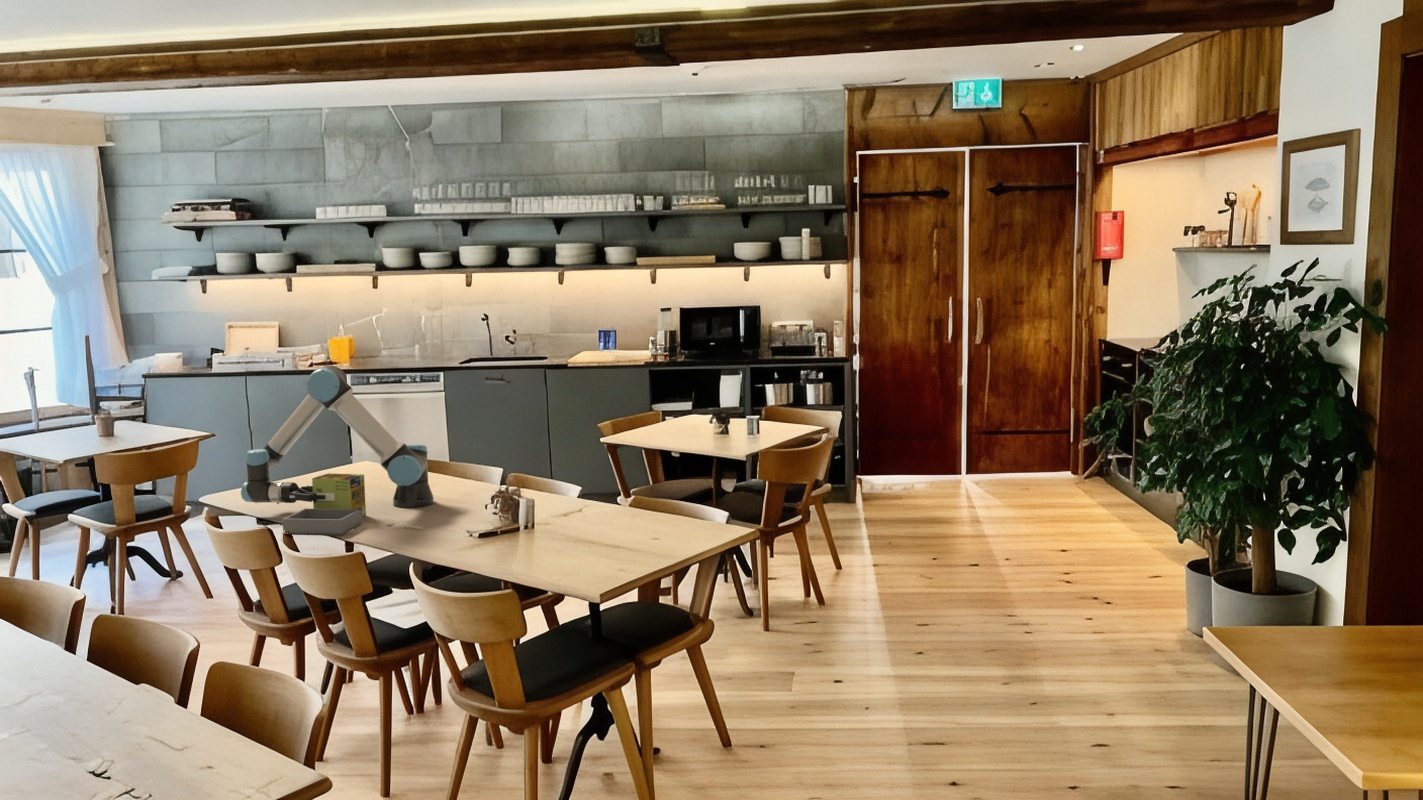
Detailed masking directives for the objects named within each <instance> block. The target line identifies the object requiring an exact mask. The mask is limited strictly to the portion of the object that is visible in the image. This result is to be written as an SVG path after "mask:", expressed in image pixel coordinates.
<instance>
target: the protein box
mask: <svg viewBox="0 0 1423 800" xmlns="http://www.w3.org/2000/svg"><path fill="white" fill-rule="evenodd" d="M311 481H312V483H311V484H312V485H311V486H313V493H315V494H316V495H317V493H335V501H317V499H316V503H313V502H312V504H313V508H312V509H352V510H361V518H363V517H365V516H367V507H366V491H365V490H366V489H365V488H366V487H365V486H366V485H365V474H364V473H363V474H361V473H360V474H355V473H331V472H330V473H325V474H321V475H318V476H316V477H313V478H312V479H311Z"/></svg>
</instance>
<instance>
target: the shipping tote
mask: <svg viewBox="0 0 1423 800" xmlns="http://www.w3.org/2000/svg"><path fill="white" fill-rule="evenodd" d="M281 521H282V532H283V531H284V530H288V531H289V532H290V533H291V534H292V535H291V536H321V537H323V536H326V537H327V536H331V537H333V536H334V537H343V536H345V535H346V534H348V533H350V532H351V531H350V530H352V529H353V530H355V529H356V527H357V528H359V527H361V526H362V521H363V520H362V517H361V510H352V509H313V508H303V509H300V510H298V511H296V512H294V513H292V514H290V515H287V516H286V517H284V518H282V520H281ZM358 526H359V527H358ZM353 530H352V531H353ZM349 531H350V532H349ZM347 532H348V533H347Z"/></svg>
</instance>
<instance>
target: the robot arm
mask: <svg viewBox="0 0 1423 800" xmlns="http://www.w3.org/2000/svg"><path fill="white" fill-rule="evenodd" d="M306 391H307V393H308V394H307V395H306V396H305V398H304V399H303V400H302V401H301V403H300V404H299V405H298V406H297V407H296V409H295V410H294V411H293V412H291V413H292V414H290V416H289V417H288V419H286V421H285V422H284V423H283V424H282V426H281V427H279V429H278V431H277V432H276V433H275V434H274V435H273V437H272V438H271V439H270V440H269V441H268V443H266V445H265V446H264V447H263V449H262V448H257V449H256V448H255V449H249V450H248V451H247V452H246V459H245V462H246V470H247V471H246V472H247V474H246V475H247V481H246V482H244V483H243V484H242V485H241V490H240V497H241V498H242V500H243V501H244V502H246V503H247V502H248V503H255V504H257V503H272V504H274V503H275V504H277V505H279V504H282V503H285V504H295V503H297V501H301V502H309V503H312V504H313V503H316V499H317V501H335V493H317V495H316V494H315V493H313V486H312V485H306V486H301V487H299V485H298V484H297V483H296V482H290V481H289V482H284V481H282V482H281V481H277V482H275V481H271V476H270V473H271V472H270V471H271V470H273V469H274V468H276V467H277V466H279V464H280V463H281V462H282V461H281V460H282V459H283V458H284V456H286V454H287V453H288V452H289V450H290V449H291V448H292V447H293V446H294V445H295V443H296V442H297V440H299V438H301V437H302V435H303V434H304V432H305V431H307V429H308V427H310V425H311V424H312V423H313V422H314V421H315V419H316V418H317V417H318V416H319V415H320V413H322V412H321V411H323V410H324V409H326V410H328V411H334V412H335V413H336V414H337V415H338V416H339V417H340V418H341V419H342V420H343V421H344V422H345V423H346V424H347V425H348V426H349V428H351V430H352V431H354V432H355V433H356V435H357V436H358V437H359V438H360V439H361V440H362V441H363V442H364V443H365V444H366V446H368V447H369V448H370V449H371V450H372V451H373V452H374V453H375V455H376V456H377V457H379V464H380V466H381V467H382V468H383V469H384V470H385V471H386V472H387V475H388V477H389V479H390V480H391V482H392V483H393V484H396V487H395V491H394V495H393V498H392V504H393V506H394V507H397V508H419V507H425V506H426V507H427V506H429V505H432V504H434V502H435V501H434V494H433V492H432V489H431V487H430V484H429V467H428V448H427V446H426V445H425V444H406V443H404V442H399V441H397V440H396V439H395V438H394V436H392V435H391V433H390V432H389V431H388V430H387V429H386V428H385V427H384V426H383V425H382V424H381V423H380V422H379V421H378V420H377V418H375V416H373V415H372V413H370V412H369V410H368V409H367V408H366V407H364V405H363V404H362V403H361V402H360V401H359V400H358V399H357V398H356V397H355V396H354V394H353V392H354V391H353V387H352V386H351V385H350V384H349V383H348V377H347V375H346V373H345V372H344V370H342V368H340V367H338V366H334V365H327V366H323V367H321V368H317V369H316V370H314V371H313V372H312V373H310V375H309V376H308V378H307V380H306Z"/></svg>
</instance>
